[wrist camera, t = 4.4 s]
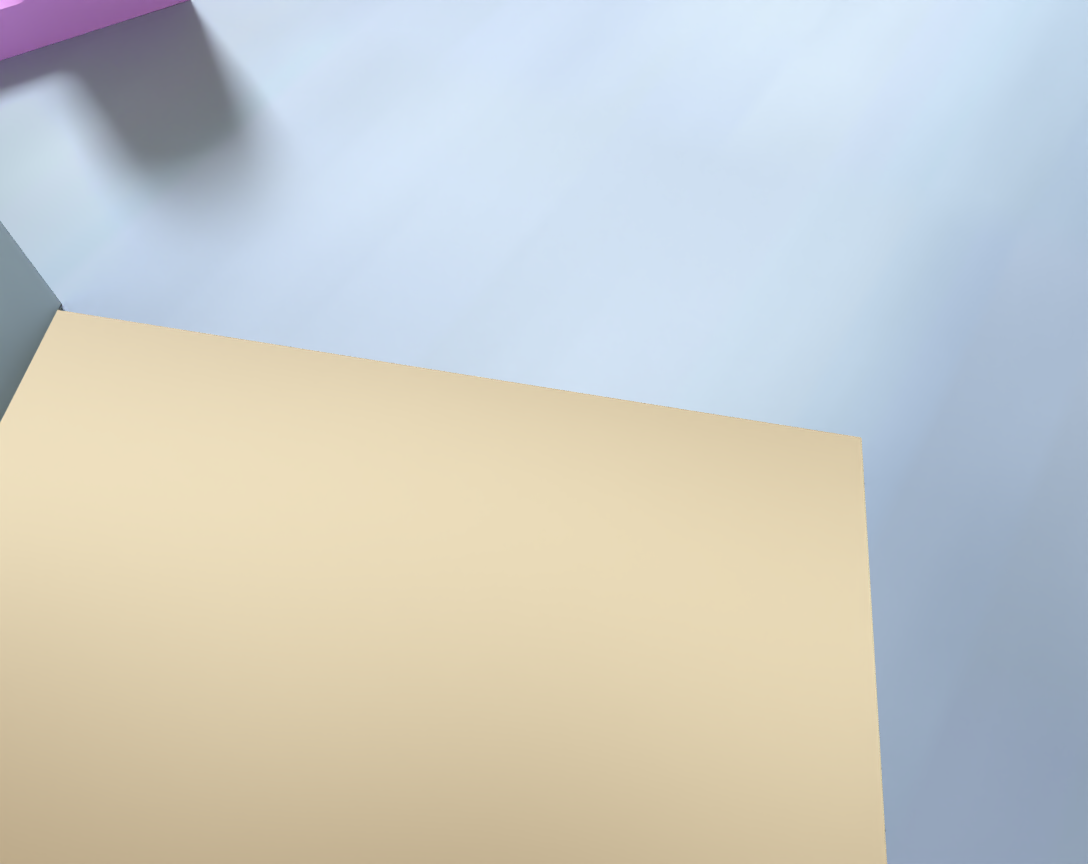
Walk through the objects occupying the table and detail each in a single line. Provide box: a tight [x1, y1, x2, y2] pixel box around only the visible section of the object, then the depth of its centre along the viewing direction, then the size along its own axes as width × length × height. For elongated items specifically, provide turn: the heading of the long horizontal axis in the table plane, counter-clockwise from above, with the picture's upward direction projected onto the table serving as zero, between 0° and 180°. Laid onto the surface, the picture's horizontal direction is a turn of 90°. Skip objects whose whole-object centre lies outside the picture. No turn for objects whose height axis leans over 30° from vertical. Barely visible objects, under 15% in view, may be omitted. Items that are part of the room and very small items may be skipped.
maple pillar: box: [0, 310, 887, 864], centre depth 9 cm, size 6×6×10 cm
